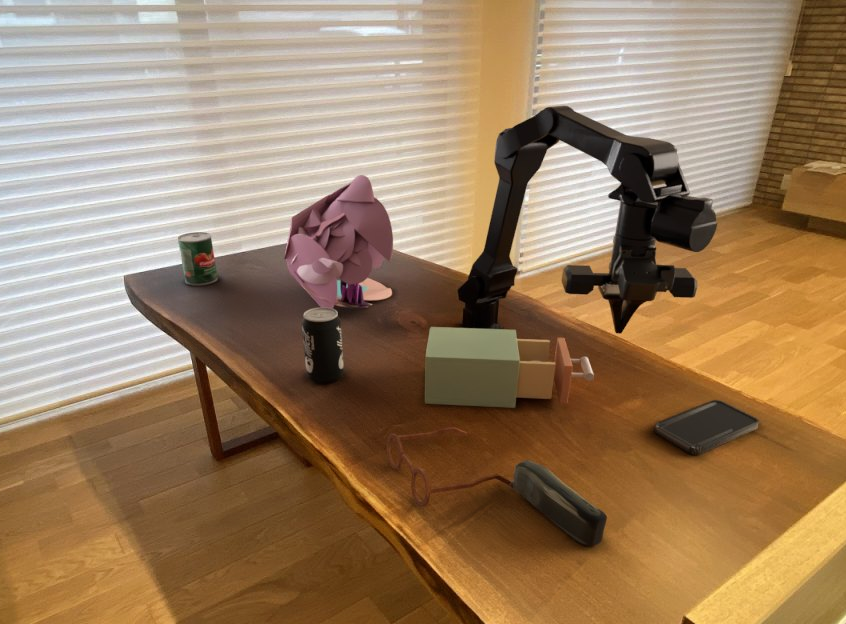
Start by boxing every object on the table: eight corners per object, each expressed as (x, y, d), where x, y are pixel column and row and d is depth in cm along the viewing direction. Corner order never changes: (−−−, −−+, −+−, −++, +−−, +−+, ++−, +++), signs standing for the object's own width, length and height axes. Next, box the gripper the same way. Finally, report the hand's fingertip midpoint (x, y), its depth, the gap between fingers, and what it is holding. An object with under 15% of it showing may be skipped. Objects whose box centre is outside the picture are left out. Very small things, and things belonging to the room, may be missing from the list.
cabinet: (511, 373, 109) (515, 329, 105) (515, 407, 99) (519, 360, 95) (429, 370, 111) (430, 326, 106) (424, 403, 101) (425, 356, 96)
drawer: (583, 373, 107) (588, 338, 104) (592, 404, 98) (599, 367, 95) (481, 369, 109) (484, 334, 105) (482, 399, 100) (484, 362, 96)
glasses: (385, 458, 88) (383, 429, 85) (466, 434, 92) (466, 406, 89) (424, 515, 77) (423, 484, 74) (513, 485, 81) (515, 455, 79)
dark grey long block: (612, 511, 70) (519, 447, 81) (595, 522, 69) (502, 454, 79) (604, 543, 73) (515, 476, 83) (588, 554, 71) (499, 485, 82)
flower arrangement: (420, 325, 140) (450, 201, 127) (333, 334, 125) (357, 194, 113) (338, 271, 163) (357, 160, 150) (256, 272, 148) (270, 150, 135)
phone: (651, 424, 92) (717, 398, 99) (650, 430, 93) (715, 404, 99) (697, 450, 86) (763, 421, 93) (695, 457, 87) (761, 427, 93)
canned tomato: (213, 285, 150) (205, 241, 145) (180, 285, 150) (172, 241, 145) (221, 274, 157) (214, 231, 152) (191, 274, 157) (183, 232, 152)
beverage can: (337, 387, 106) (333, 322, 100) (301, 383, 107) (295, 319, 101) (348, 369, 111) (344, 307, 105) (313, 366, 112) (308, 305, 107)
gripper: (578, 249, 83) (564, 353, 91) (721, 253, 82) (695, 358, 89) (567, 227, 93) (555, 322, 101) (695, 230, 91) (673, 326, 99)
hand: (618, 332), depth 97 cm, fingers closed
